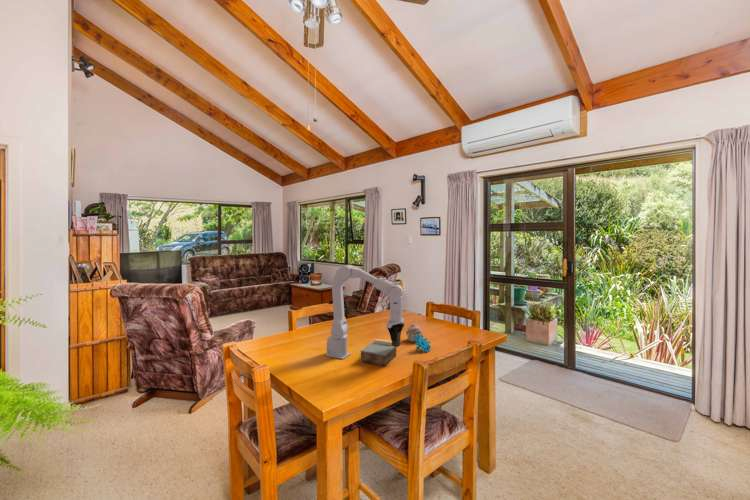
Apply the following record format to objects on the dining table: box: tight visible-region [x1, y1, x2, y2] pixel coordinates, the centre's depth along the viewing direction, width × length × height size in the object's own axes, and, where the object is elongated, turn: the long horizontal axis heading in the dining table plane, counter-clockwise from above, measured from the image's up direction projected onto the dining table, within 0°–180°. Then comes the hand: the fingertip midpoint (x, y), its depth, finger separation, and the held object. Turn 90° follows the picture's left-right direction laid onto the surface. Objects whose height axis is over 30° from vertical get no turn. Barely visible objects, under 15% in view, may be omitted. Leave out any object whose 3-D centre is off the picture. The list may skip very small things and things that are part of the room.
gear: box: [414, 334, 432, 353], centre depth 181 cm, size 11×6×10 cm
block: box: [392, 331, 402, 348], centre depth 164 cm, size 3×3×6 cm
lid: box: [360, 338, 395, 356], centre depth 166 cm, size 12×15×2 cm
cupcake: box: [405, 322, 423, 343], centre depth 195 cm, size 9×9×10 cm
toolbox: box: [360, 347, 397, 368], centre depth 167 cm, size 12×15×4 cm
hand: (395, 339), depth 164 cm, fingers closed on block, 3 cm apart
